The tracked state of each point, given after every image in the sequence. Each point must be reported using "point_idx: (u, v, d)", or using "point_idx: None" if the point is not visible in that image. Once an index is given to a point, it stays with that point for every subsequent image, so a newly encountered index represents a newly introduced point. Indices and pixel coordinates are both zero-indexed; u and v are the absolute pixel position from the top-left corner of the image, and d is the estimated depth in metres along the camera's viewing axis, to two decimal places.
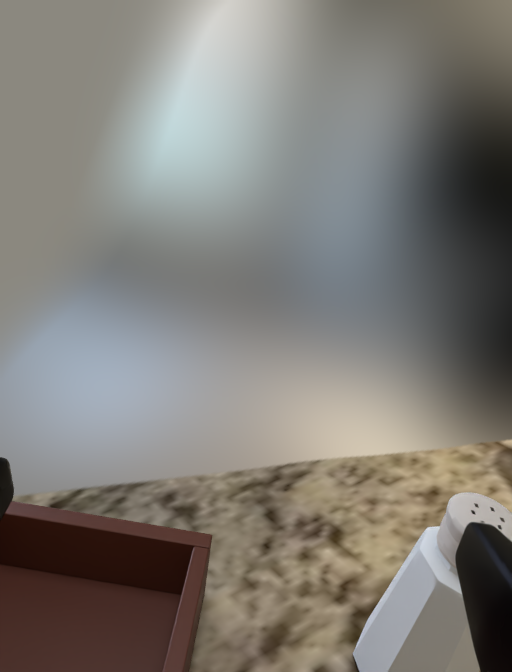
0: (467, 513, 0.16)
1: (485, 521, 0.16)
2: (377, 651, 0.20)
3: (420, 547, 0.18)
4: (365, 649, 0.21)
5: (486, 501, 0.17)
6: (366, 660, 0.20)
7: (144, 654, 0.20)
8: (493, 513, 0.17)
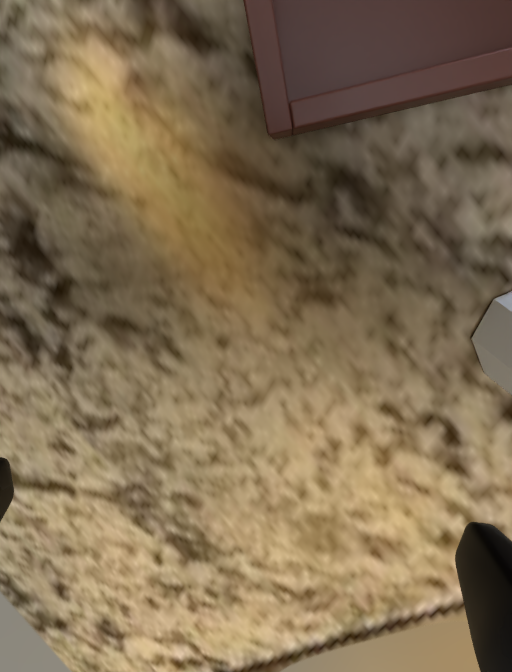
0: None
1: None
2: None
3: None
4: None
5: None
6: None
7: (504, 16, 0.15)
8: None
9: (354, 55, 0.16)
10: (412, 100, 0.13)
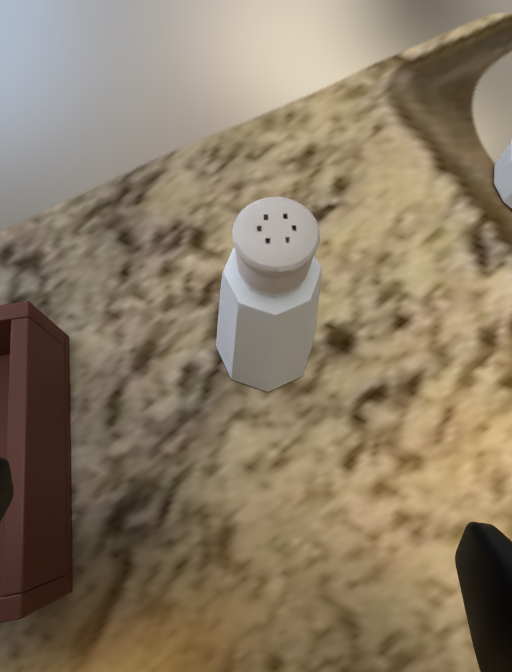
0: (251, 232, 0.13)
1: (271, 237, 0.13)
2: (225, 348, 0.21)
3: (224, 269, 0.16)
4: (220, 345, 0.22)
5: (280, 206, 0.14)
6: (222, 352, 0.22)
7: None
8: (284, 221, 0.13)
9: None
10: (24, 487, 0.17)
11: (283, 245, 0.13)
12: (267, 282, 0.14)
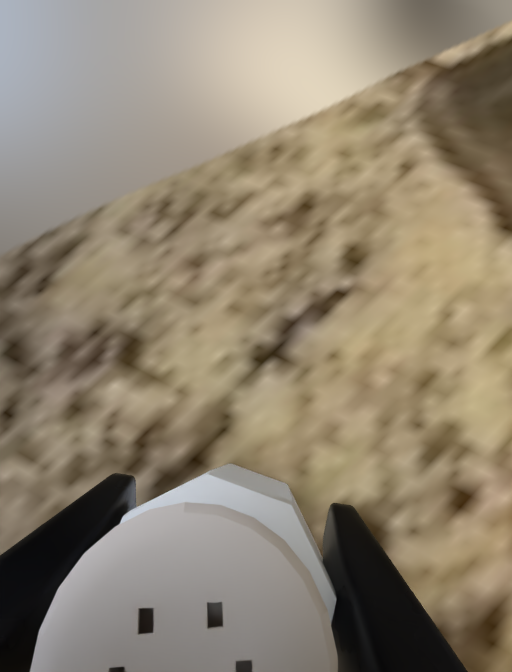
0: None
1: None
2: None
3: None
4: None
5: (199, 568, 0.04)
6: None
7: None
8: (211, 642, 0.04)
9: None
10: None
11: None
12: None
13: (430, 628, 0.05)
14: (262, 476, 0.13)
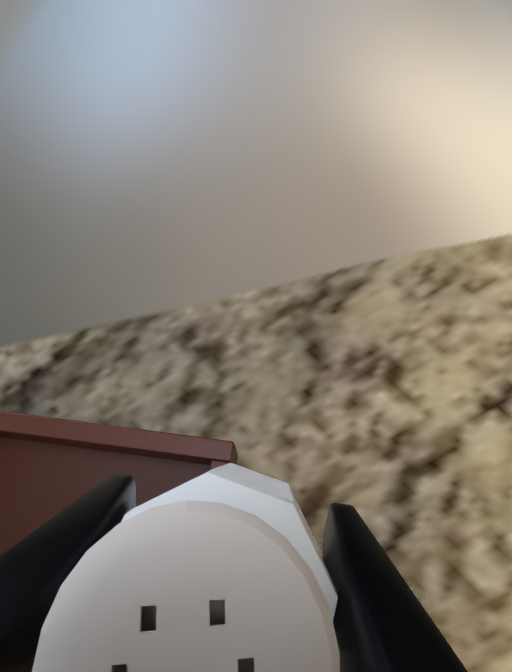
0: None
1: None
2: None
3: None
4: None
5: (202, 566, 0.04)
6: None
7: None
8: (214, 639, 0.04)
9: None
10: None
11: None
12: None
13: (430, 628, 0.05)
14: (263, 475, 0.13)
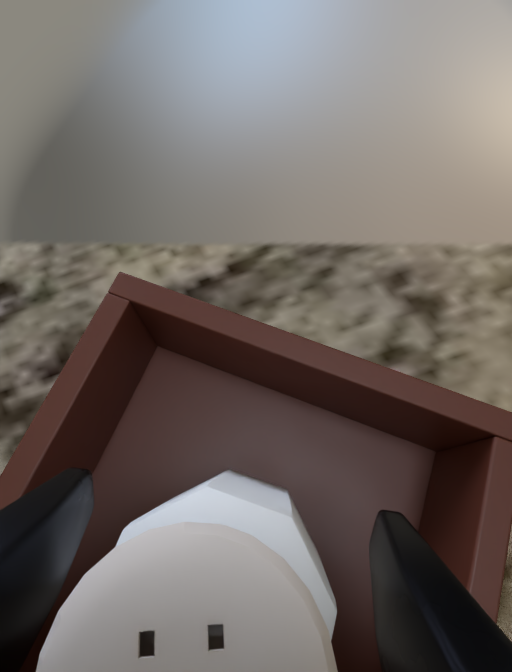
0: None
1: None
2: None
3: None
4: None
5: (200, 590, 0.04)
6: None
7: None
8: (212, 664, 0.04)
9: None
10: None
11: None
12: None
13: (501, 639, 0.05)
14: (261, 482, 0.13)
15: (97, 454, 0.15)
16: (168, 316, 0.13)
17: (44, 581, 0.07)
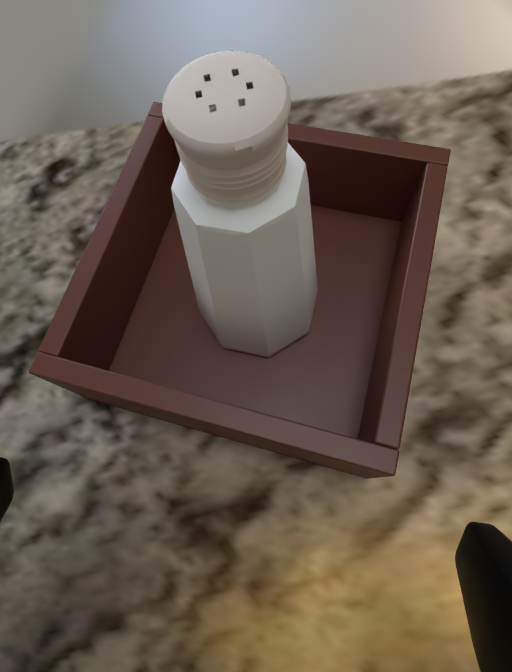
0: (187, 101, 0.09)
1: (217, 103, 0.09)
2: (206, 308, 0.17)
3: (172, 185, 0.11)
4: (201, 307, 0.18)
5: (227, 61, 0.09)
6: (206, 316, 0.18)
7: (359, 270, 0.19)
8: (235, 79, 0.09)
9: (335, 379, 0.18)
10: (417, 340, 0.14)
11: (236, 111, 0.09)
12: (225, 179, 0.10)
13: None
14: None
15: (152, 249, 0.20)
16: None
17: None
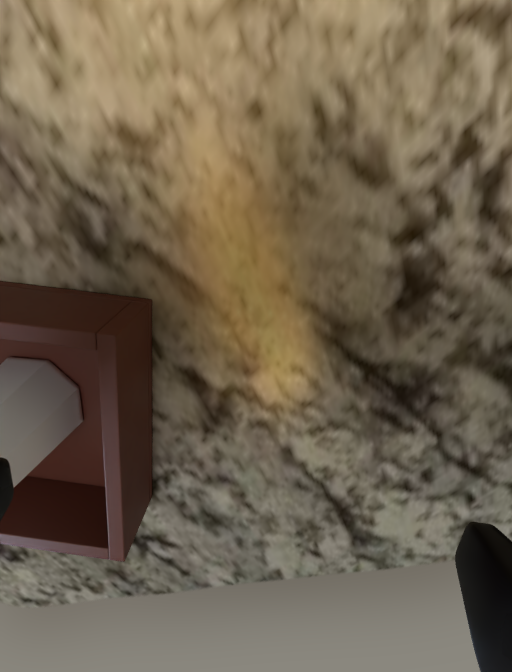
0: None
1: None
2: None
3: None
4: None
5: None
6: None
7: None
8: None
9: None
10: (6, 322, 0.17)
11: None
12: None
13: None
14: None
15: (23, 481, 0.25)
16: None
17: None
